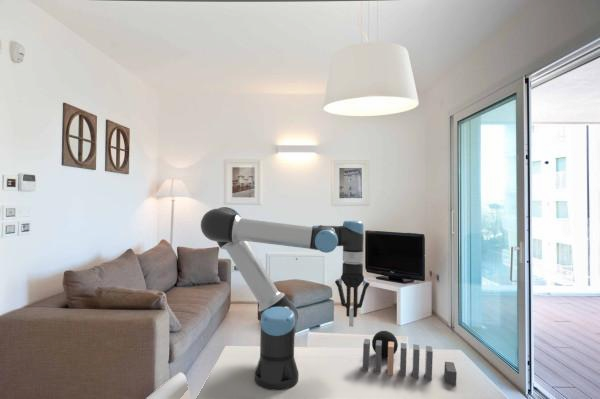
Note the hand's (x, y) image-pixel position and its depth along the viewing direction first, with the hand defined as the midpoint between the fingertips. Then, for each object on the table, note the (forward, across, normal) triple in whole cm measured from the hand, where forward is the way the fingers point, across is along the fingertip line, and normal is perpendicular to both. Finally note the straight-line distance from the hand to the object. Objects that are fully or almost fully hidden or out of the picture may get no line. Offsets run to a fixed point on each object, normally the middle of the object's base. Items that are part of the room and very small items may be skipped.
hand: (351, 325), depth 147 cm
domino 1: (+15, +6, 0) cm, 16 cm away
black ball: (+16, +12, +13) cm, 23 cm away
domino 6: (+16, +28, 0) cm, 32 cm away
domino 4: (+16, +19, 0) cm, 24 cm away
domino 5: (+16, +23, 0) cm, 28 cm away
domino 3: (+16, +14, 0) cm, 21 cm away
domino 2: (+15, +10, 0) cm, 18 cm away
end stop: (+16, +35, 0) cm, 38 cm away
